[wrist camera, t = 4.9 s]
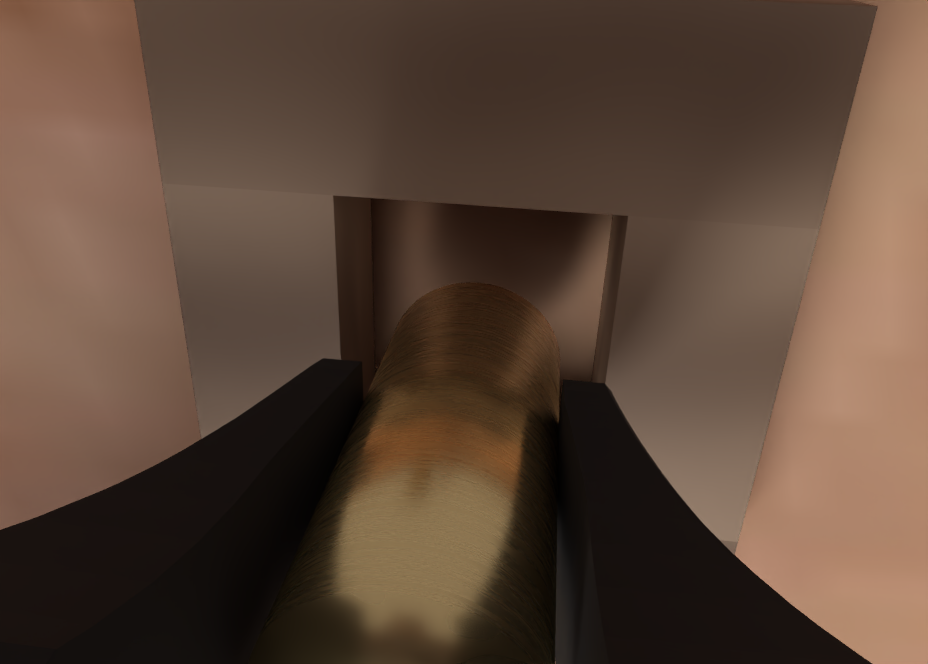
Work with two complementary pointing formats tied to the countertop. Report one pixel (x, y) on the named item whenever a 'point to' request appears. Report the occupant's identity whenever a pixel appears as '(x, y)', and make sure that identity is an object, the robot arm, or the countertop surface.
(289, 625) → the pin
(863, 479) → the countertop surface
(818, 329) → the countertop surface
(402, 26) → the slot block
